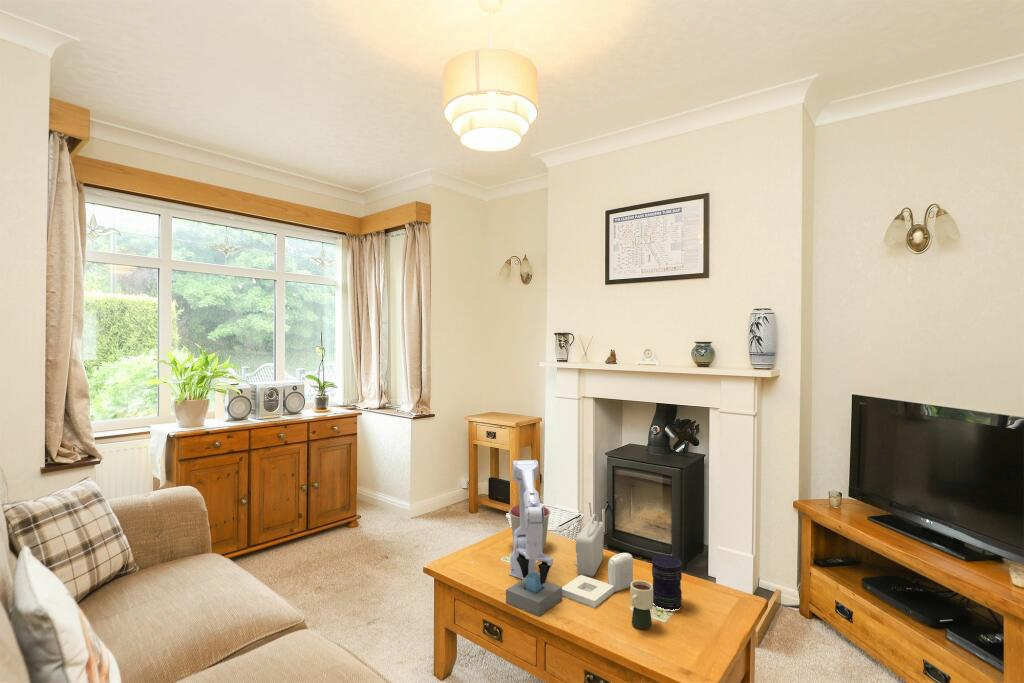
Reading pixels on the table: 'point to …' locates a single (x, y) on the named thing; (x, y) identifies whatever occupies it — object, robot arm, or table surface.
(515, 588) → the grey square socket block
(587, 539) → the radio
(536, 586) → the plug
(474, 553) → the table surface
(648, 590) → the character mug
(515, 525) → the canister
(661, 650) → the table surface
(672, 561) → the storage jar
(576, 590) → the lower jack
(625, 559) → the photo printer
